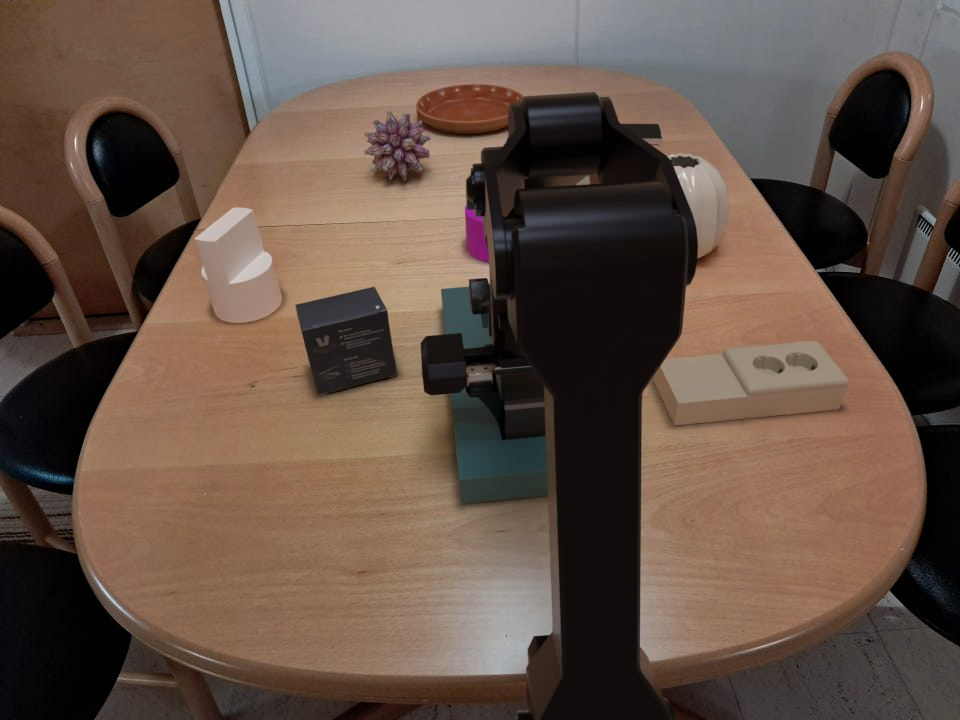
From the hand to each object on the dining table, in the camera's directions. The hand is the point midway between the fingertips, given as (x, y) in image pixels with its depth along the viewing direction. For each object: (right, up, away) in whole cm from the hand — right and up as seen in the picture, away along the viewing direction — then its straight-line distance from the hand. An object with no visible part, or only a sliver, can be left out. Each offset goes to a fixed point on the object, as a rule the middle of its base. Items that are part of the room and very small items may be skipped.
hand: (523, 422), depth 69 cm
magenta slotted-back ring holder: (-1, +25, +37) cm, 45 cm away
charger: (0, -2, +1) cm, 2 cm away
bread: (+11, +34, +48) cm, 60 cm away
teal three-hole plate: (-1, +3, +9) cm, 10 cm away
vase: (+24, +22, +32) cm, 45 cm away
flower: (-18, +39, +56) cm, 71 cm away
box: (-19, +5, +12) cm, 23 cm away
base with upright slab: (-36, +14, +25) cm, 46 cm away
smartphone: (+23, +50, +66) cm, 86 cm away
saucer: (-6, +57, +77) cm, 96 cm away
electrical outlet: (+25, +2, +7) cm, 26 cm away
